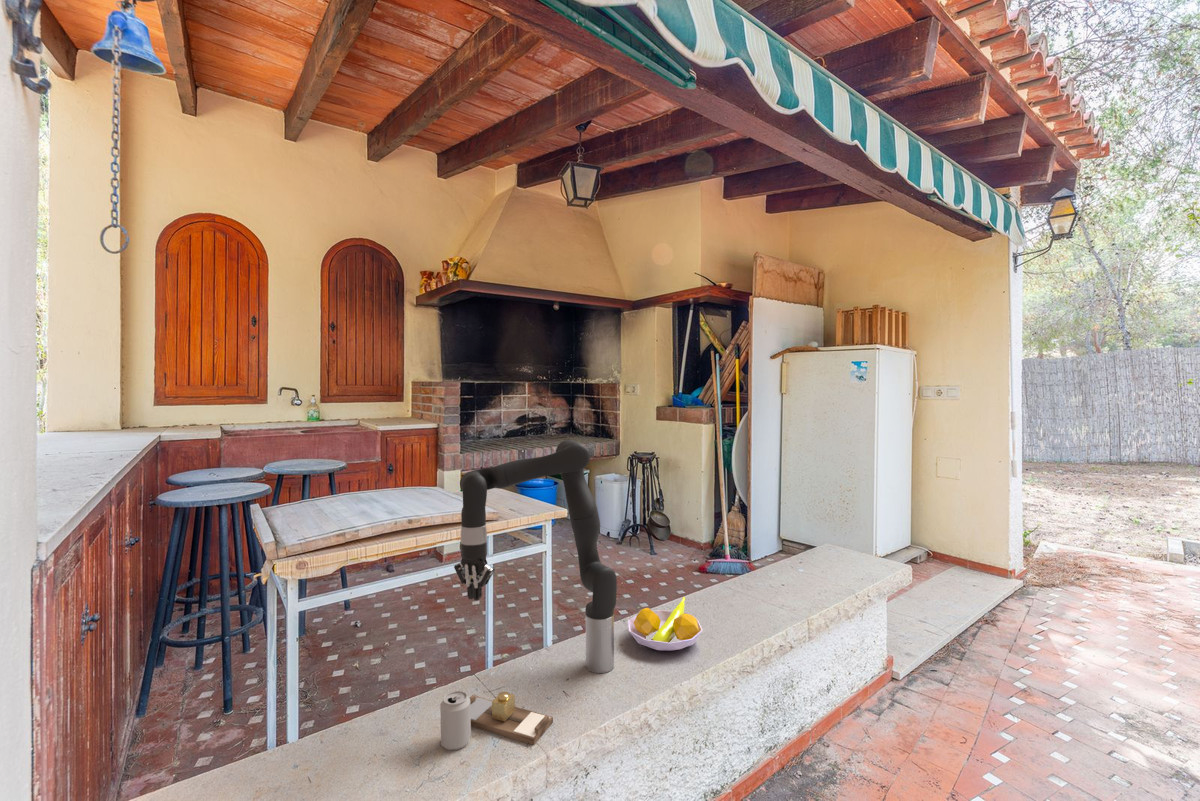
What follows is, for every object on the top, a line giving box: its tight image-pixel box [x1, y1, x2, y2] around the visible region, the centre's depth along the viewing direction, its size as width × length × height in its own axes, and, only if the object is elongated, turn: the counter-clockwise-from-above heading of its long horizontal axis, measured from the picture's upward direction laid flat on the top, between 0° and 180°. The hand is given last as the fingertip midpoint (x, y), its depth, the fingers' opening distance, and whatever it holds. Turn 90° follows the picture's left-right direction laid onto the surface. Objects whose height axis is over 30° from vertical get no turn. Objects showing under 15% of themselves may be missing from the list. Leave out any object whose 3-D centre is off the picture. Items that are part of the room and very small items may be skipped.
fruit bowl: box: [627, 596, 703, 652], centre depth 192 cm, size 28×27×11 cm
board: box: [469, 694, 554, 746], centre depth 145 cm, size 10×25×3 cm, turn 67°
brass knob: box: [492, 691, 516, 722], centre depth 145 cm, size 5×4×6 cm
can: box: [439, 690, 472, 751], centre depth 137 cm, size 8×8×12 cm
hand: (474, 598), depth 157 cm, fingers closed
